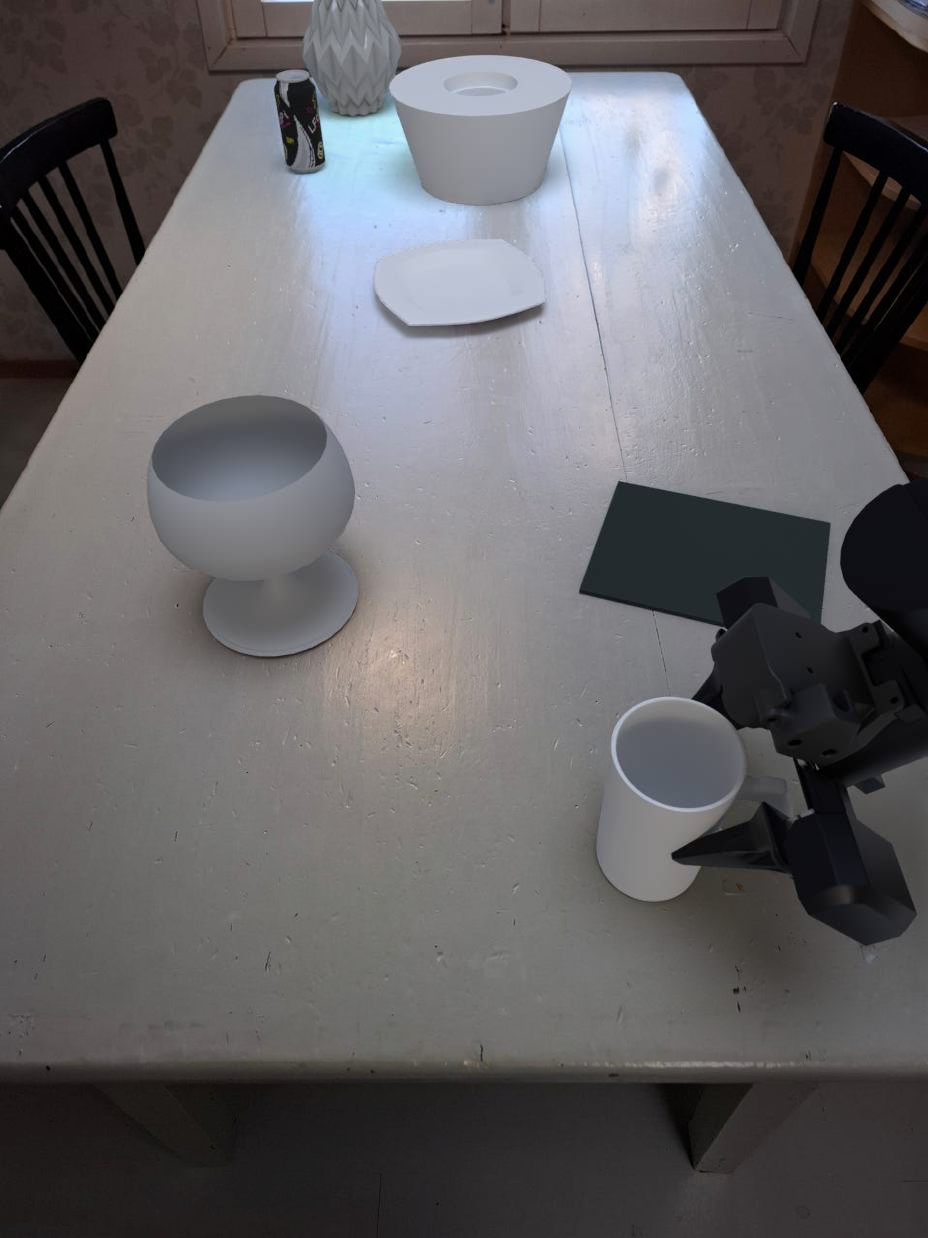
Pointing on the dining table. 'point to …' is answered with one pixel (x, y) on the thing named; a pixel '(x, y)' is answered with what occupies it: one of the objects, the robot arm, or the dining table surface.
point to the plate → (458, 282)
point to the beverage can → (299, 121)
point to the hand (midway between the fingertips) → (665, 801)
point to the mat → (701, 552)
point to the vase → (351, 53)
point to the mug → (671, 792)
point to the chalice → (258, 519)
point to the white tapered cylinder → (481, 124)
